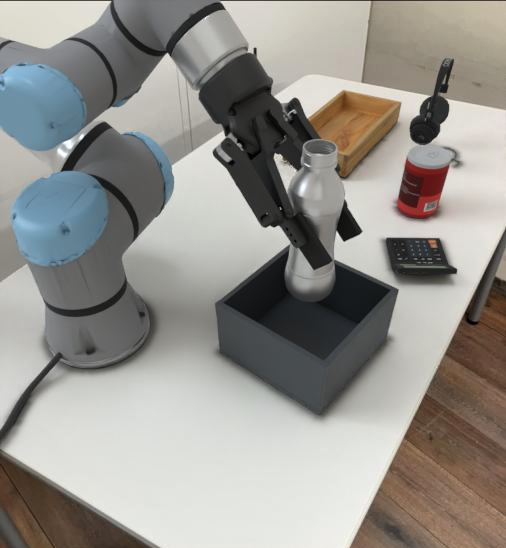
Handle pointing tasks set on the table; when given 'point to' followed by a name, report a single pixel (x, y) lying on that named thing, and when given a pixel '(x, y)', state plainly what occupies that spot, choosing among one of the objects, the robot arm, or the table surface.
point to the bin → (304, 330)
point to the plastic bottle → (315, 218)
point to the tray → (354, 125)
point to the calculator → (418, 256)
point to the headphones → (433, 109)
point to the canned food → (423, 180)
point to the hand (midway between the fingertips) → (338, 250)
